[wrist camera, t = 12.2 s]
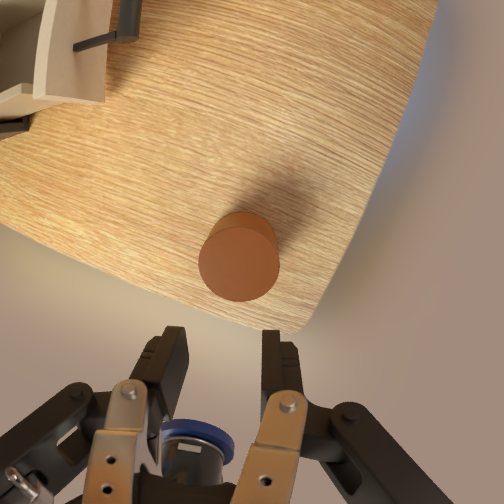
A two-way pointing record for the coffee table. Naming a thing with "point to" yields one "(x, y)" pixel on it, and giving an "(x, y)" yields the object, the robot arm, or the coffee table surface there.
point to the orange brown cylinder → (240, 257)
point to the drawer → (58, 51)
